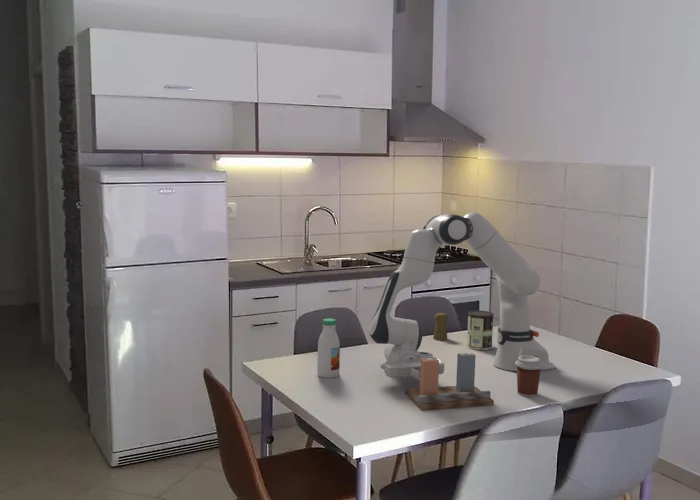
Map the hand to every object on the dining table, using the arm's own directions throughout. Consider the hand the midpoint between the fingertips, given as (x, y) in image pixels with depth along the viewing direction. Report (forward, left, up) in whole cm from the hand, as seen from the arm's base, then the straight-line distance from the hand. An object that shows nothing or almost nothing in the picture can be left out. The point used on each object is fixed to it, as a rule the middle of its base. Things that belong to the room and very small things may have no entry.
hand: (422, 375), depth 239 cm
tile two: (-14, +3, -5) cm, 15 cm away
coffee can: (-44, -51, -7) cm, 67 cm away
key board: (-7, +6, -7) cm, 11 cm away
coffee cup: (-35, +6, -7) cm, 36 cm away
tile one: (0, +7, -5) cm, 8 cm away
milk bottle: (+25, -26, -7) cm, 37 cm away
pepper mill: (-33, -66, -7) cm, 74 cm away
